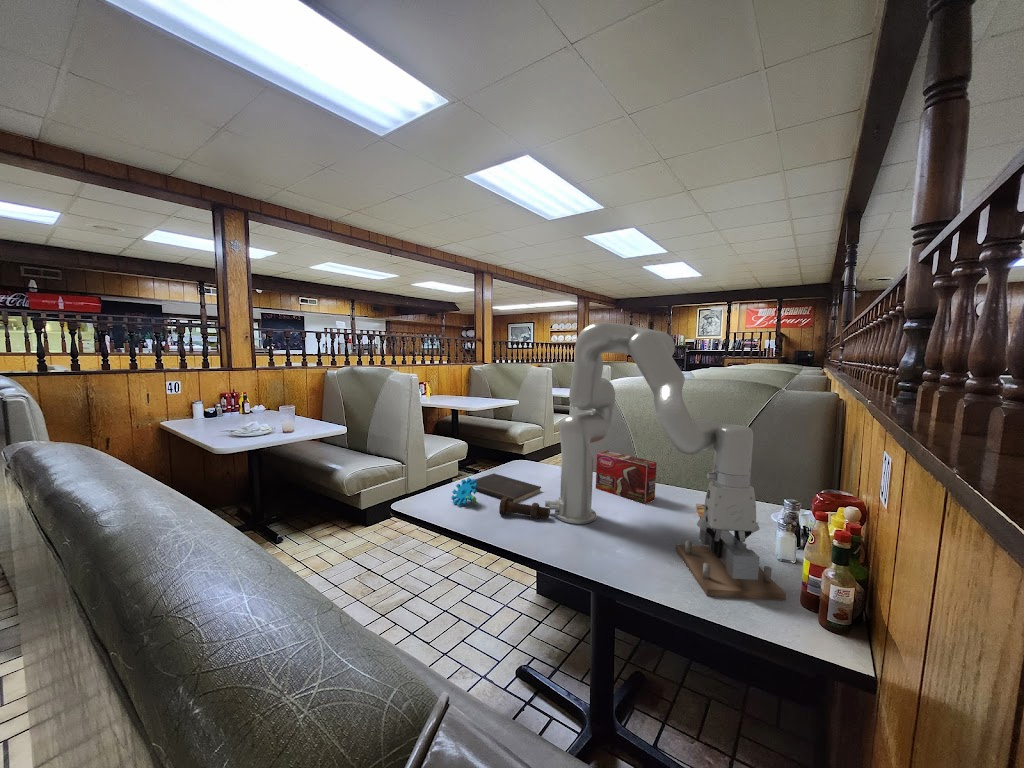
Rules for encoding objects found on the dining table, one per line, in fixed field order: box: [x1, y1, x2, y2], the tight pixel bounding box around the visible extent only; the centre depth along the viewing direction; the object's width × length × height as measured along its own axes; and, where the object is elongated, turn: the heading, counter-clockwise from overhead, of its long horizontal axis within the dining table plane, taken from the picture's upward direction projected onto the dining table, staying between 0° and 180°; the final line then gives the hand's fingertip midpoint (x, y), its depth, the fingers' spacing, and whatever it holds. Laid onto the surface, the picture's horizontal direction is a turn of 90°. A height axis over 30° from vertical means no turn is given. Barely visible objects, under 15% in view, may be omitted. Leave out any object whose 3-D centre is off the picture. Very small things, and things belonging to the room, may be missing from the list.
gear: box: [450, 477, 480, 507], centre depth 137 cm, size 11×6×10 cm
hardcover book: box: [471, 473, 542, 503], centre depth 150 cm, size 16×23×2 cm
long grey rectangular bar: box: [699, 522, 760, 580], centre depth 97 cm, size 5×18×5 cm, turn 177°
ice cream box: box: [595, 450, 658, 505], centre depth 147 cm, size 20×6×13 cm, turn 42°
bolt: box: [498, 497, 551, 520], centre depth 127 cm, size 6×5×15 cm
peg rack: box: [675, 539, 787, 601], centre depth 97 cm, size 16×20×4 cm
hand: (725, 555), depth 97 cm, fingers closed on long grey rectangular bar, 3 cm apart
